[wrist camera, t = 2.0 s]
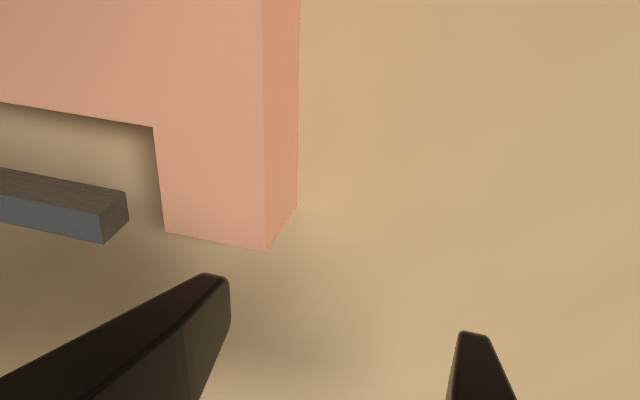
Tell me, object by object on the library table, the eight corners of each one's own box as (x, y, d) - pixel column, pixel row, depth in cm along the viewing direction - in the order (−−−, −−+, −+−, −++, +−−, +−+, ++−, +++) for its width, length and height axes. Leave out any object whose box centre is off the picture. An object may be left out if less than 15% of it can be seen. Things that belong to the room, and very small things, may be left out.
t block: (302, -173, 18) (258, -175, 15) (297, 204, 25) (265, 252, 22) (-34, -186, 21) (-126, -190, 18) (44, 156, 27) (-14, 194, 24)
